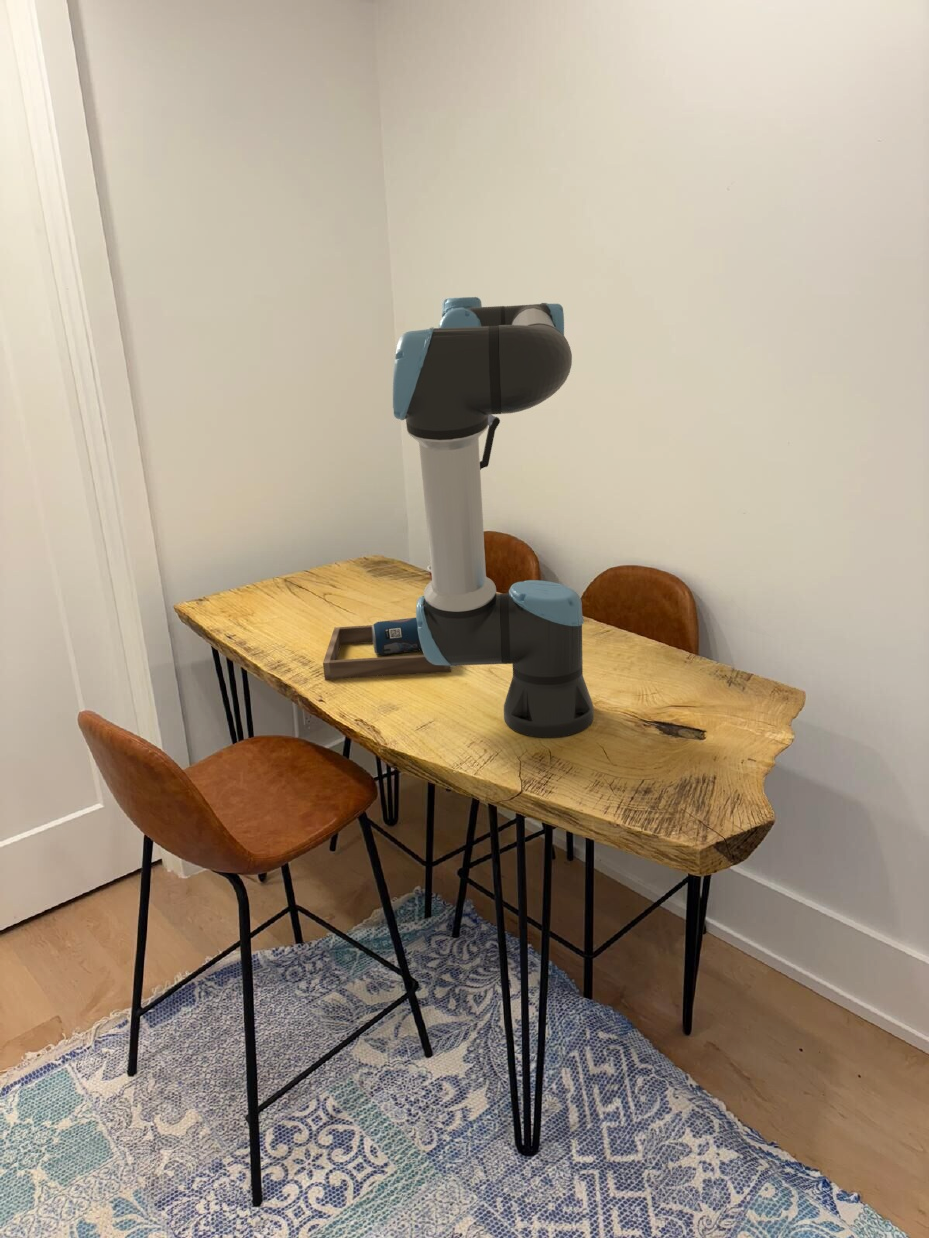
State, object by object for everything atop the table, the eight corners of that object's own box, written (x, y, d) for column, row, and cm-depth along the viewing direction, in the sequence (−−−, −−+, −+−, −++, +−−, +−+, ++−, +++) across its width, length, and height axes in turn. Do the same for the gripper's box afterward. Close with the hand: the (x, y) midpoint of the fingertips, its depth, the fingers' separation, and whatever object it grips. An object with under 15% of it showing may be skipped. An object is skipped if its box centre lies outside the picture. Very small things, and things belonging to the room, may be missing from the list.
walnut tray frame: (451, 672, 163) (450, 655, 162) (324, 679, 163) (322, 663, 161) (449, 635, 182) (448, 620, 181) (336, 642, 181) (334, 627, 180)
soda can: (370, 626, 177) (427, 620, 179) (374, 658, 175) (431, 652, 177) (371, 618, 170) (429, 612, 172) (375, 652, 168) (434, 644, 170)
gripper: (497, 379, 166) (502, 497, 174) (432, 383, 166) (439, 500, 173) (500, 382, 159) (505, 504, 167) (432, 385, 158) (439, 508, 166)
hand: (471, 502), depth 170 cm, fingers closed
